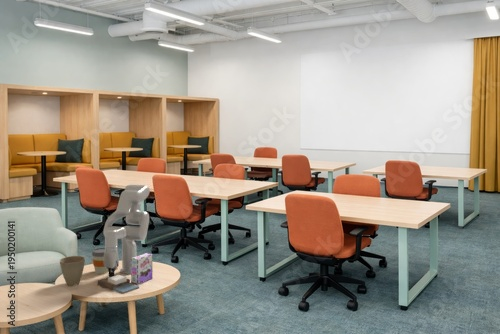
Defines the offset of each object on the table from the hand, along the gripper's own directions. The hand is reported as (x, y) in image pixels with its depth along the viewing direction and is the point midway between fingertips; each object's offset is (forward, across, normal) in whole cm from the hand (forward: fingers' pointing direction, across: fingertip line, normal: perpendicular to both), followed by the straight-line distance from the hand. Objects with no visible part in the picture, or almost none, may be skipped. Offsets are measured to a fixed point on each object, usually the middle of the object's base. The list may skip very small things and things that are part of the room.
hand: (111, 277), depth 287 cm
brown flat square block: (+4, +2, 0) cm, 5 cm away
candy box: (+4, +10, +16) cm, 19 cm away
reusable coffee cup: (+4, -25, +11) cm, 28 cm away
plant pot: (+5, -19, -15) cm, 25 cm away
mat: (+4, +14, 0) cm, 14 cm away
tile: (+1, +6, 0) cm, 6 cm away
